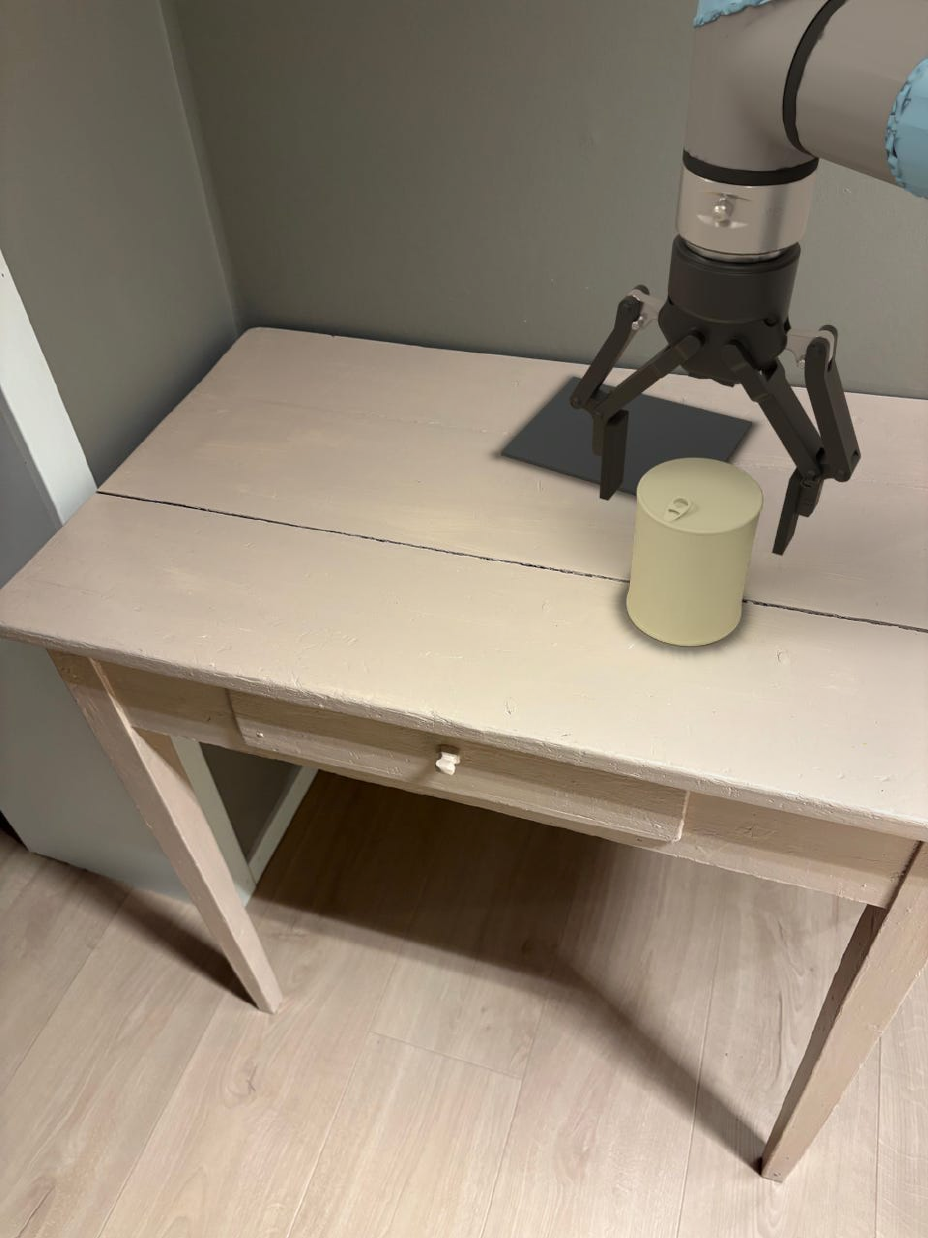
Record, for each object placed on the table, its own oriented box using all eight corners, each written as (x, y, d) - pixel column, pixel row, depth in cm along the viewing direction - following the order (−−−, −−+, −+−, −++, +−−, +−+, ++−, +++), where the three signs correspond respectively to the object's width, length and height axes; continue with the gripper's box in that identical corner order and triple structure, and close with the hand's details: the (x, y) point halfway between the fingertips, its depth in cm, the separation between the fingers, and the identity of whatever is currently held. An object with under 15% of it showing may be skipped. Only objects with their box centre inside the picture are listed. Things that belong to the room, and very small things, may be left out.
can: (603, 611, 78) (611, 493, 70) (667, 555, 83) (682, 437, 75) (700, 664, 74) (721, 544, 65) (762, 601, 78) (789, 481, 70)
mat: (752, 424, 97) (752, 421, 96) (692, 512, 87) (692, 508, 87) (573, 379, 105) (573, 376, 104) (501, 454, 95) (500, 451, 95)
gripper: (523, 223, 60) (524, 495, 75) (943, 306, 50) (847, 600, 65) (577, 181, 64) (567, 446, 79) (972, 250, 54) (876, 537, 69)
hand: (693, 516), depth 72 cm, fingers open, 13 cm apart
